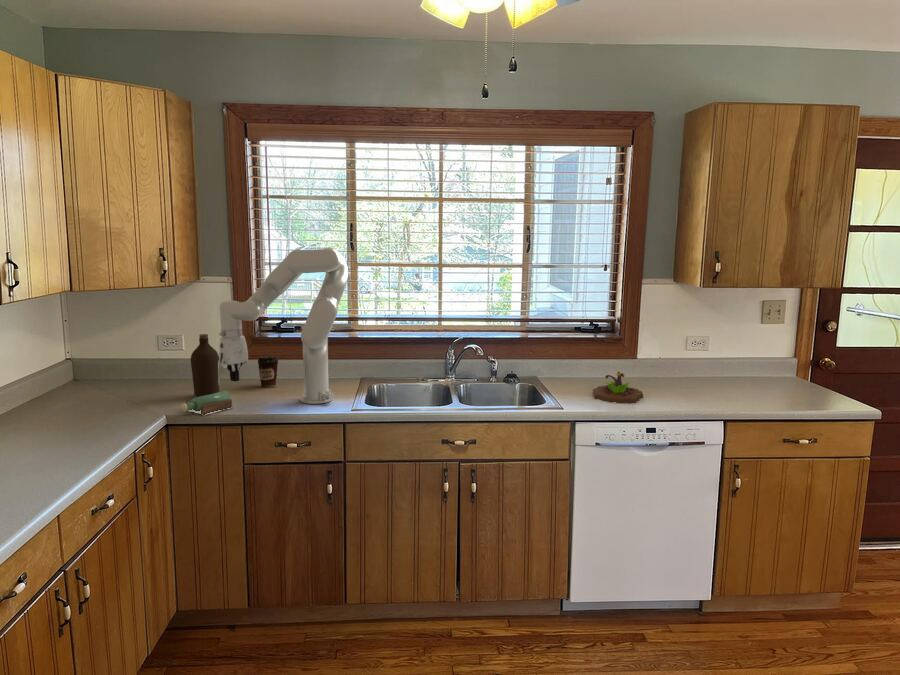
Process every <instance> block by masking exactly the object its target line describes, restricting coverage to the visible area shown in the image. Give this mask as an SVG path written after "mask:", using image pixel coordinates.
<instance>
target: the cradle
mask: <svg viewBox="0 0 900 675" xmlns="http://www.w3.org/2000/svg"><path fill="white" fill-rule="evenodd" d="M191 400H192V399H190V400H185V401H184V403H188V402H191ZM231 407H232V408H233V400H232V398H230V399H226V400H222V401H218V402H214V403H210V404H206V405H202V406H201V414H203V415H205V414H207V413H210V412H214V411H218V410H223V409H227V408H231Z"/></svg>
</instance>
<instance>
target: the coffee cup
mask: <svg viewBox="0 0 900 675" xmlns="http://www.w3.org/2000/svg"><path fill="white" fill-rule="evenodd" d="M277 357H278V356H277V355H274V354H273V355H272V354H271V355H262V356H261V355H260V356H259V358H258V360H257V365H258V374H259V380H260V381H259V382H260V387H261V388H275V387H277V377H278V366H279V365H278V364H279V358H277Z"/></svg>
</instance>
